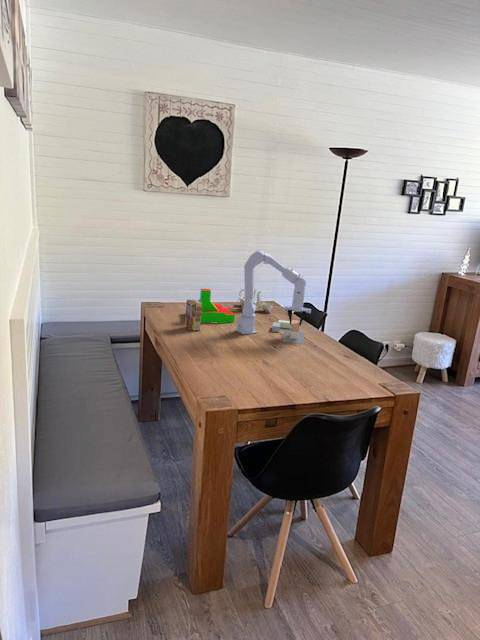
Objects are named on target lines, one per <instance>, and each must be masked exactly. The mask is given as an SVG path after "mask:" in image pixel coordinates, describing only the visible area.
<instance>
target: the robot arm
mask: <svg viewBox="0 0 480 640" xmlns="http://www.w3.org/2000/svg"><path fill="white" fill-rule="evenodd" d="M260 264H264V265H270V266H272V268H275V269H276V270H277V271H279V272H281V273H282V275H281V276H282V277H283V278H284V279H285V280H287V281H288V282H290V283H291V284H293V285H294V289H293V295H292V304H291V305H289V306H287V305H286V306H285V305H283V307H282V310H283V312H284V311H287V316H288V318H289V320H288V321H290V325H291V321H292V320H293V319H292V317H293V312H297V313H300V319H299V327H300V326H302V323H303V320H304V319H305V318H306V315H307V314H312V309H311V308H307V307H304V302H305V295H306V294H305V292H306V291H305V290H306V284H307V280H306V278H305V277H304V276H303V275H301V274H300V273H299V274H298V273H297V272H296V271H294V268H293V267H289V266H288V267H286V266H284V265H283V264H282V263H280V261H278V260H277V259H276V258H274V257H273V256H272V255H270V253H268V252H265V251H264V249H257V250H256V251H255V252H253V253H252V254H250V255H249V257H248V259H247V260H246V262H245V263H244V266H243V267H244V269H243V271H244V275H243V276H244V297H245V301H244V307H243V308H242V314H241V315H240V316H238V317H237V318H236V326H235V327H236V329H235V331H236V332H238V333H240V334H242V335H249V334H257V333H258V331H257V330H255V327H256V318H257V317H256V314H255V311H256V312H257V310H256V308H257V307H256V304H255V300H256V298H255V299H254V289H255V283H254V282H255V280H254V279H255V278H254V275H255V274H254V269H255V268H256V267H257V266H258V265H260Z"/></svg>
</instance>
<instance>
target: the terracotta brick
mask: <svg viewBox="0 0 480 640" xmlns="http://www.w3.org/2000/svg"><path fill="white" fill-rule="evenodd" d="M291 321H292V323H291V329H290V331H293V332H300V326H299V324H300V320H296V319H291Z"/></svg>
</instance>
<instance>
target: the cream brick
mask: <svg viewBox="0 0 480 640" xmlns="http://www.w3.org/2000/svg"><path fill="white" fill-rule="evenodd" d="M290 331H291V330H290ZM299 332H300V331H299ZM299 332H293V331H291V332H290V339H298V333H299Z"/></svg>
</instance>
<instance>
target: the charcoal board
mask: <svg viewBox="0 0 480 640" xmlns="http://www.w3.org/2000/svg"><path fill="white" fill-rule="evenodd" d="M290 332H291V329H290V330H289V329H288V330H287V329H283V338H282V342H283V343H290V344H298V345H305V342H306V341H305V332H304V331H299V333H298V339H290Z"/></svg>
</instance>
